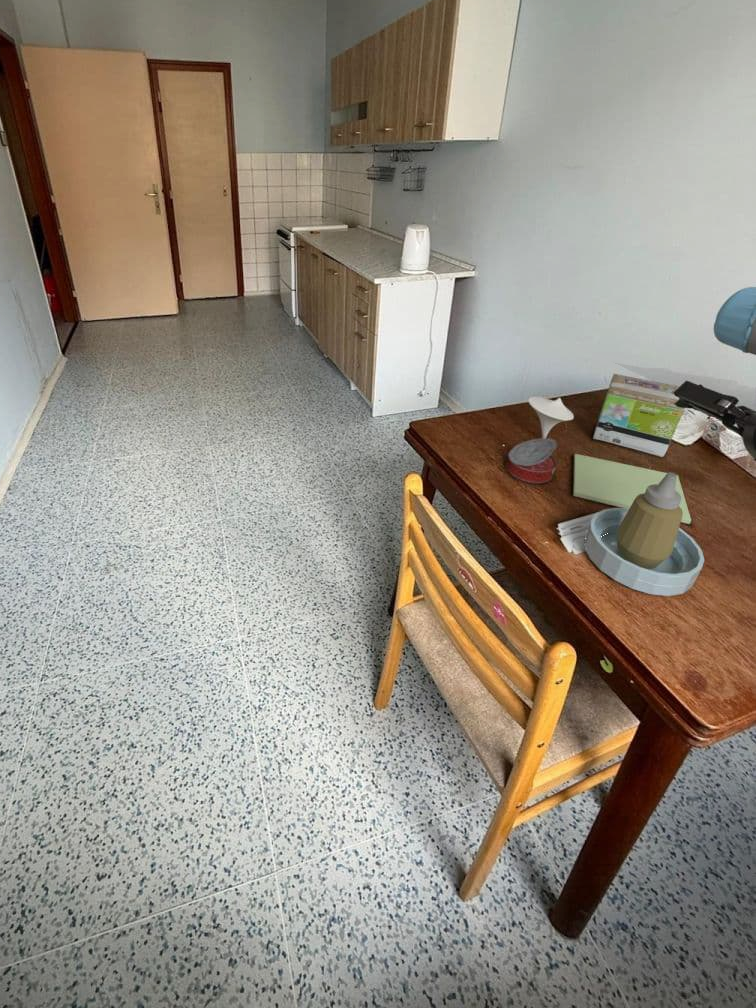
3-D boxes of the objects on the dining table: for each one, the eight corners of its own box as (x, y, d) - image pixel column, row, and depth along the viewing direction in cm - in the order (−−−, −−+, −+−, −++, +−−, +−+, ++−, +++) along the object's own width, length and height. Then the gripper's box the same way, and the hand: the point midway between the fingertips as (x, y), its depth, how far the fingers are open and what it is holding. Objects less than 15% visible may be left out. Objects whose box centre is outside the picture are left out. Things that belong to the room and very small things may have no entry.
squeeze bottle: (659, 583, 78) (700, 497, 69) (604, 559, 82) (636, 476, 74) (668, 556, 83) (707, 472, 74) (616, 534, 88) (647, 454, 79)
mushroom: (556, 429, 122) (567, 388, 116) (572, 452, 113) (585, 408, 107) (515, 428, 123) (524, 387, 118) (527, 451, 114) (538, 407, 108)
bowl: (683, 544, 86) (693, 523, 84) (701, 612, 73) (714, 590, 71) (583, 518, 93) (590, 498, 90) (583, 577, 80) (591, 555, 78)
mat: (676, 478, 103) (678, 475, 102) (689, 524, 90) (691, 520, 90) (573, 457, 111) (574, 453, 111) (573, 495, 99) (574, 492, 98)
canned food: (534, 500, 105) (533, 477, 98) (497, 474, 112) (494, 451, 105) (569, 467, 106) (570, 442, 99) (531, 443, 113) (529, 419, 106)
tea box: (591, 440, 117) (608, 386, 110) (596, 423, 125) (612, 372, 118) (664, 458, 110) (687, 402, 103) (665, 439, 117) (687, 385, 110)
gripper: (674, 397, 61) (633, 394, 80) (875, 536, 54) (778, 496, 73) (722, 351, 59) (669, 360, 78) (938, 490, 52) (820, 462, 71)
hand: (721, 426), depth 76 cm, fingers open, 13 cm apart
